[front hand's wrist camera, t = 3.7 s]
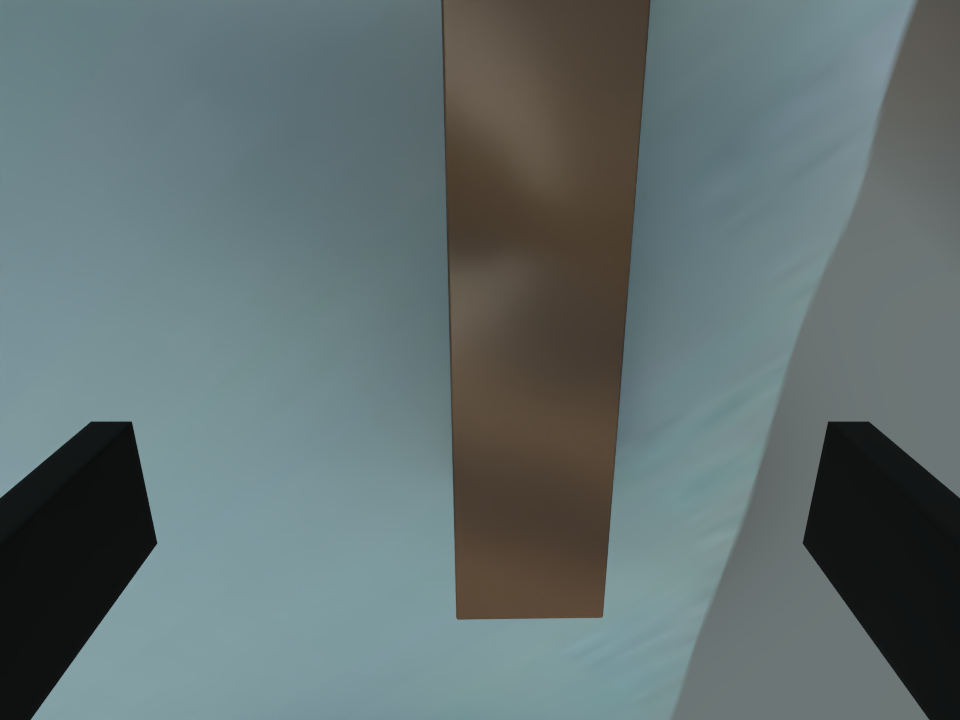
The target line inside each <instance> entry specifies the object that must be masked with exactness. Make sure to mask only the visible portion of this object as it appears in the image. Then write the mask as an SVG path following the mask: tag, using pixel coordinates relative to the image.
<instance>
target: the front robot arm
mask: <svg viewBox="0 0 960 720" xmlns="http://www.w3.org/2000/svg"><path fill="white" fill-rule="evenodd" d="M156 544H157V540H156V535H155V530H154V525H153V521H152V516H151V511H150V506H149V502H148V497H147V492H146V487H145V482H144V478H143V473H142V468H141V463H140V459H139V454H138V449H137V444H136V439H135V435H134V430H133V425H132V422H90V423H89V424H88V425H87V426H85V427H84V428H83V429H82V430H81V431H79V432H78V433H77V434H76V435H75V436H74V437H72V438H71V439H70V440H69V441H68V442H66V443H65V444H64V445H63V446H62V447H61V448H59V449H58V450H57V451H56V452H55V453H53V454H52V455H51V456H50V457H49V458H47V459H46V460H45V461H44V462H43V463H42V464H40V465H39V466H38V467H37V468H36V469H34V470H33V471H32V472H31V473H30V474H28V475H27V476H26V477H25V478H24V479H23V480H21V481H20V482H19V483H18V484H17V485H15V486H14V487H13V488H12V489H11V490H9V491H8V492H7V493H6V494H5V495H4V496H2V497H1V498H0V720H31V718H32V717H33V716H34V714H35V713H36V712H37V710H38V709H39V707H40V706H41V705H42V703H43V702H44V700H45V699H46V698H47V696H48V695H49V693H50V692H51V691H52V689H53V688H54V686H55V685H56V684H57V682H58V681H59V679H60V678H61V677H62V675H63V674H64V673H65V671H66V670H67V668H68V667H69V666H70V664H71V663H72V661H73V660H74V659H75V657H76V656H77V654H78V653H79V652H80V650H81V649H82V647H83V646H84V645H85V643H86V642H87V641H88V639H89V638H90V636H91V635H92V634H93V632H94V631H95V629H96V628H97V627H98V625H99V624H100V622H101V621H102V620H103V618H104V617H105V615H106V614H107V613H108V611H109V610H110V608H111V607H112V606H113V604H114V603H115V602H116V600H117V599H118V597H119V596H120V595H121V593H122V592H123V590H124V589H125V588H126V586H127V585H128V583H129V582H130V581H131V579H132V578H133V576H134V575H135V574H136V572H137V571H138V569H139V568H140V567H141V565H142V564H143V563H144V561H145V560H146V558H147V557H148V556H149V554H150V553H151V551H152V550H153V549H154V547H155V546H156ZM803 544H804V546H805V547H806V549H807V550H808V551H809V553H810V554H811V556H812V557H813V558H814V560H815V561H816V563H817V564H818V565H819V567H820V568H821V569H822V571H823V572H824V574H825V575H826V576H827V578H828V579H829V581H830V582H831V583H832V585H833V586H834V588H835V589H836V590H837V592H838V593H839V595H840V596H841V597H842V599H843V600H844V601H845V603H846V604H847V606H848V607H849V608H850V610H851V611H852V613H853V614H854V615H855V617H856V618H857V620H858V621H859V622H860V624H861V625H862V627H863V628H864V629H865V631H866V632H867V634H868V635H869V636H870V638H871V639H872V640H873V642H874V643H875V645H876V646H877V647H878V649H879V650H880V652H881V653H882V654H883V656H884V657H885V658H886V660H887V661H888V663H889V664H890V666H891V667H892V668H893V670H894V671H895V672H896V674H897V675H898V677H899V678H900V679H901V681H902V682H903V684H904V685H905V686H906V688H907V689H908V691H909V692H910V693H911V695H912V696H913V698H914V699H915V700H916V702H917V703H918V705H919V706H920V707H921V709H922V710H923V712H924V713H925V714H926V716H927V717H928V718H929V720H960V498H959V497H958V496H956V495H955V494H954V493H953V492H952V491H951V490H949V489H948V488H947V487H946V486H945V485H943V484H942V483H941V482H940V481H939V480H937V479H936V478H935V477H934V476H933V475H931V474H930V473H929V472H928V471H927V470H926V469H924V468H923V467H922V466H921V465H920V464H918V463H917V462H916V461H915V460H914V459H913V458H911V457H910V456H909V455H908V454H907V453H905V452H904V451H903V450H902V449H901V448H899V447H898V446H897V445H896V444H895V443H894V442H892V441H891V440H890V439H889V438H888V437H886V436H885V435H884V434H883V433H882V432H880V431H879V430H878V429H877V428H876V427H875V426H873V425H872V424H871V423H870V422H828V425H827V430H826V435H825V439H824V444H823V449H822V454H821V459H820V463H819V468H818V473H817V478H816V483H815V487H814V492H813V497H812V502H811V506H810V511H809V516H808V521H807V526H806V530H805V535H804V540H803Z"/></svg>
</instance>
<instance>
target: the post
mask: <svg viewBox="0 0 960 720" xmlns="http://www.w3.org/2000/svg"><path fill="white" fill-rule="evenodd" d="M650 1H651V0H441V4H442V45H443V86H444V128H445V169H446V210H447V251H448V292H449V333H450V375H451V416H452V457H453V498H454V539H455V580H456V618H457V619H529V618H601V617H603V608H604V595H605V582H606V569H607V556H608V543H609V530H610V517H611V504H612V491H613V479H614V466H615V453H616V440H617V427H618V414H619V401H620V388H621V375H622V362H623V349H624V336H625V324H626V311H627V298H628V285H629V272H630V259H631V246H632V233H633V220H634V207H635V194H636V182H637V169H638V156H639V143H640V130H641V117H642V104H643V91H644V78H645V65H646V52H647V40H648V27H649V14H650Z"/></svg>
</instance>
